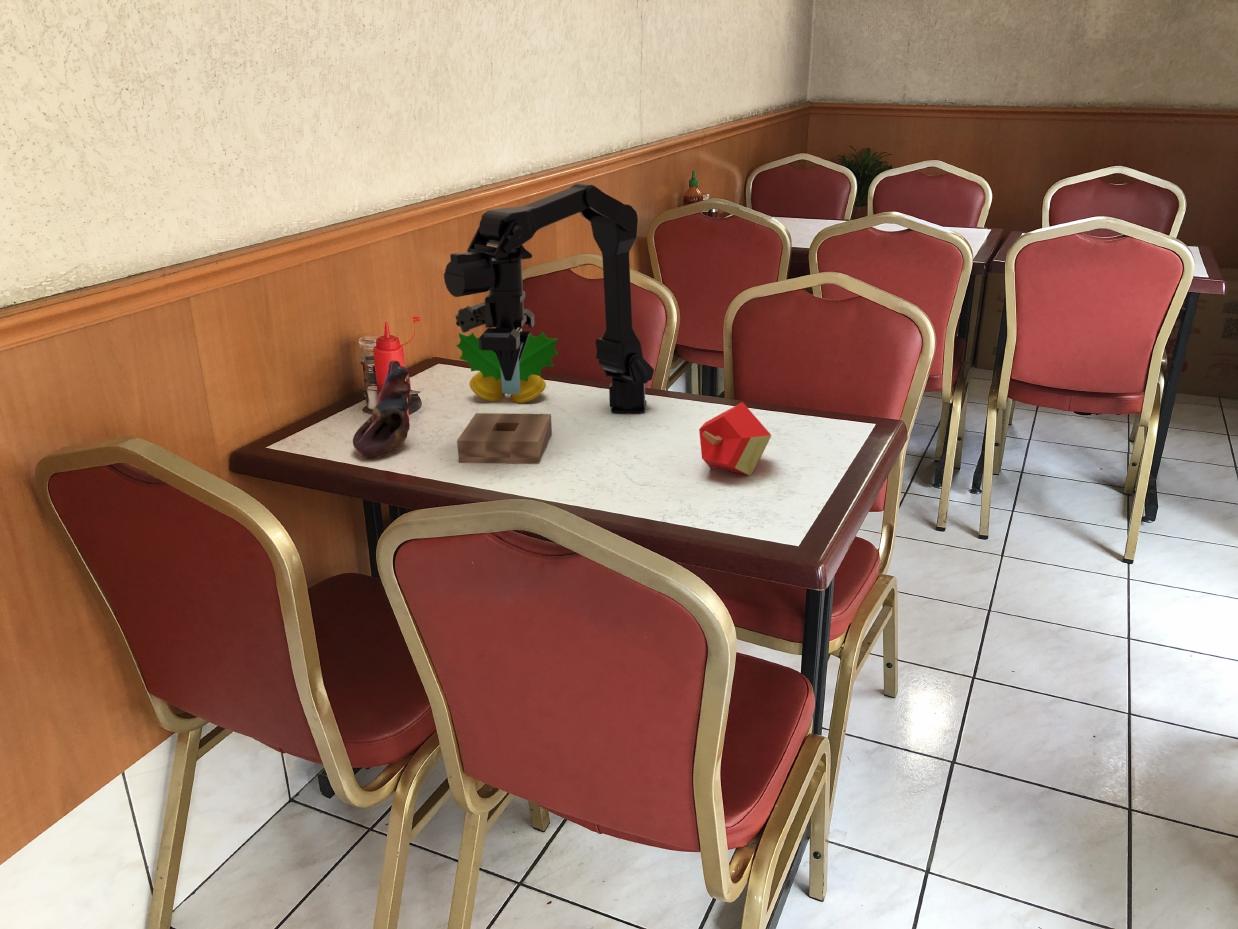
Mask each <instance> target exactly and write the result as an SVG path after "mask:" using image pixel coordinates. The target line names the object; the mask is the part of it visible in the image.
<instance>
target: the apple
mask: <svg viewBox="0 0 1238 929" xmlns="http://www.w3.org/2000/svg"><path fill="white" fill-rule="evenodd" d="M698 430H699V442H700V443H699V444H700V451H701V452H700V453H701V459H702V460H703V461H704V462H705V463H706V464H707V466H708V467H709V468H714V469H719V470H722V471H727V472H732V473H736V474H741V475H745V476H749V477H751V475H752V474H753V472H754V471H755V468H756V467H757V466H758V464H759V462H760V460H761V457H762V456H763V454H764V452H765V449H766V447H767V445H768V443H769V442H770V439H771V438H772V434H771V433H770V431H768V429H767V428H766V427H765V426H764V425H763V423H761V421H760V420H759V419H758V418H757V417H756V415H755V414H754V413H753V412H752V411H751V410H750V409H749V408H748V407H747V405H746V404H745V403H744V402H742V401H741V402H740V403H738V404H736V405H734V406H733V407H731V408H729V409H727V410H725V411H723V412H721V413H720V414H718V415H716V416H714V417H712V418H711V419H709V420H707V421H705V422H704V423H703V424H702V425H701V426H700V428H699V429H698Z"/></svg>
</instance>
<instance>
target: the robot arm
mask: <svg viewBox="0 0 1238 929" xmlns="http://www.w3.org/2000/svg"><path fill="white" fill-rule="evenodd" d="M578 213H579V214H580V216H581V217H582V218H584V219H585V220H587V221H588V222H589V223H590V226H591V231H592V237H593V239H594V241H595V243H596V245H597V246H598V248H599V250H600V252H601V258H602V271H603V273H602V277H603V291H604V292H603V293H604V294H603V295H604V311H605V313H604V315H605V330H604V332H603V335H602V336H601V337H600V338H596V340H595V346H596V356H595V360H598V363H599V365H600V367H602V371H603V372H604V376H605V377H609V378H611V383H610V384H609V387H608V390H609V391H608V393H609V394H608V397H609V399H608V400H609V407H610V408H611V410H610V411H611V413H614V414H617V413H618V414H623V413H624V414H644V413H645V412H646V408H647V400H646V384H647V383H648V382H649V381H652V380H653V376H654V372H655V369H654V368H653V367H652V366H651V365H650V363H648V361H646V358H645V359H644V354H643V350H642V343H641V341H640V339H639V337H638V336H637V333H636V332H635V330H634V328H633V315H632V312H633V311H632V292H631V291H632V290H631V267H630V266H631V265H630V264H631V263H630V252H631V249H632V247H633V245H634V243H635V241H636V239H637V234H638V225H639V224H638V221H639V220H638V219H639V217H638V213H637V210H636V209H634V207H633V206H632V205H630V204H626V203H623V202H621V201H620V200H618V199H616V198H614V197H612V196H610V195H609V194H607V193H605V192H603V191H602V190H601V189H599V187H597V186H596V185H593V184H586V183H585V184H584V183H575V184H573V185H571V186H570V187H569V188H566V189H563V190H561V191H558V192H556V193H554V194H551V195H548V196H545V197H543V198H540V199H538V200H535V201H534V202H533V201H532V202H529V203H528V204H525V205H521V206H512V207H511V206H510V207H509V206H508V207H502V208H495V209H489V210H486V211H485V212H484V213H482V214H481V219H480V221H479V226H478V228H477V229H476V232H475V234H474V236H473V238H472V240H471V241H470V244H469V246H468V248H467V250H466V252H463V253H461V252H454V253H450V257H449V258H450V261H449V262H448V263H447V264H446V266H445V269H444V270H445V271H444V273H443V279H444V285H445V287H446V289H447V291H448V292H449V294H450V295H451V296H453V297H454V298H460V297H466V296H470V295H472V296H473V295H475V294H480V293H487V292H488V294H487V295H486V297H485V298H484V302H480V303H478V304H475V305H472V306H470V305H466V306H465V307H463V308H461V307H460V308H459V309H458V311H457V314H456V315H455V320H456V321H455V326H457V327H459V328H460V330H461V332H462V334H463V333H464V334H465V333H467V332H470V330H473V329H475V328H477V327H480V326H483V325H485V328H486V329H485V331H484V332H483V333H482V334H481V335H480V336H479V337H477V338H478V339H479V349H480V350H492V351H493V352H495V353H496V355H497V358H498V361H499V364H500V367H501V370H502V373H503V376H504V379H505V380H506V381H511V380H512V377H513V374H514V371H515V368H516V365H517V361H518V358H519V362H520V360H521V357H522V354H523V351H524V348H525V346H526V343H527V340H528V337H529V335H530V333H531V331H525V330H523V326H524V325H527V326H528V328H529V329H530V328H531V329H532V328H533V327H534V326H535V313H534V312H532V311H531V309H529V308H525V307H524V300H525V298H526V290H525V291H524V289H523V288H524V287H523V266H522V265H523V264H522V261H523V260H529V259H532V257H533V254H532V253H531V252H530V251H528V250H527V248H525V246H524V244H526V243H527V242H529V241H530V240H532V239H533V237H534V235H535V234H536V233H537V232H538V231H539V230H541V229H543V228H545V227H548V226H551V225H552V224H554V223H557V222H560V221H562V220H565V219H567V218H570V217H572V216H574V215H577V214H578Z"/></svg>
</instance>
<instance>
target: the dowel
mask: <svg viewBox="0 0 1238 929" xmlns="http://www.w3.org/2000/svg"><path fill="white" fill-rule="evenodd" d="M501 382H502V393H504V394H505V395H511V394H516V393H519V392H520V372H519V358H518V361H517V365H516V368H515V371H514V374H513V377H512V380H511V381H506V380H505V379H504V376H503V373H502V370H501Z"/></svg>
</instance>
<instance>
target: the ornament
mask: <svg viewBox="0 0 1238 929" xmlns="http://www.w3.org/2000/svg"><path fill="white" fill-rule="evenodd" d="M458 337H459V340H460V341H459V343H458V344H456V345H455V347H457V348H458V349H459V350H460V351H461V353H462V354H461V355H460V357H459V360H461V361H464V362H467V363H468V364H469V365H470V372H477V373H475V375H473V376H472V377H471V378H470V381H469V388H470V389H471V390H472V393H474V394H475V395H476V396H477V397H479V398H480V399H483V400H485V401H489V402H497V401H501V400H502V399H503V398H505V396H506V394H504V393H502V382H501V367H500V364H499V361H498V358H497V355H496V353H495V352H493V351H492V350H480V349H479V339H478V338H479V337H476V335H475V334H474V332H471V333H470V334H469V335H465V334H463V333H461V332H458ZM557 342H558V338H548V337H547V336H546V335H545V333H544V331H542V332H541V333H540V334H538V336H534V335H533V334H532V333H531V332H530V335H529V337H528V340H527V343H526V346H525V348H524V351H523V354H522V357H521V360H520V362H519V372H520V392H519V393H516V394H509V395H510V399H511V401H512V402H513V403H515V402H516V403H515V404H522V403H523V404H524V403H527V402H530V401H532V400H534V399H536V398H538V397H539V396H540V395H541V394H542V393H543V392H544V390H545V389H546V387H547V382H546V381H545V379H544V378H542V373H541V372H542V370H543V369H544V368H546V367H554V364H553V361H552V358H553V357H554V356H558V355H559V353H558V352H557V351H556V348H555V346H556V343H557Z"/></svg>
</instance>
